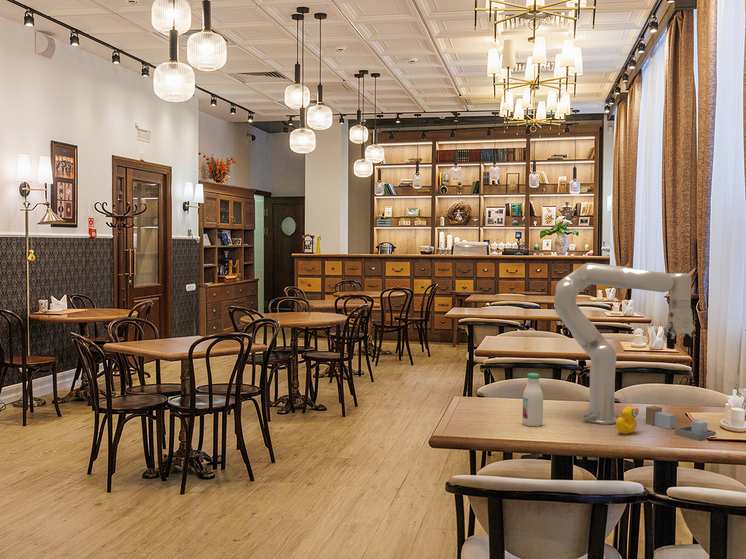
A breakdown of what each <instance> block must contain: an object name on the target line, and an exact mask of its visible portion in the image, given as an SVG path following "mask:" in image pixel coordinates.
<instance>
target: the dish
mask: <svg viewBox="0 0 746 559" xmlns="http://www.w3.org/2000/svg"><path fill="white" fill-rule="evenodd" d="M674 430H675V431H674V434H675V435H677V436H681V437H684V438H687V437H688V438H689V439H691V440H695V441H703V440H708V437H710V436H714V435H716V436H717V434H716V433H717V431H715V430H712V429H708V428H707V433H702V434H695V433H692V432H691V425H688V426H682V427H676V428H674Z"/></svg>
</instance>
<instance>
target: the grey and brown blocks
mask: <svg viewBox="0 0 746 559" xmlns="http://www.w3.org/2000/svg"><path fill="white" fill-rule="evenodd" d="M646 423H648V424H647V425H650V424H652V425H651V426H656V425H658V426H657V427H659V426H662V427H661V428H663V427H665V428H664V429H667V428H669V429H668V430H672V428H674V429H676V428H677V427H676V426H677V415H676V414H672V413H669V412H664V411H663V407H662V406H658V405H650V406H646V407H645V424H646Z"/></svg>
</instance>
